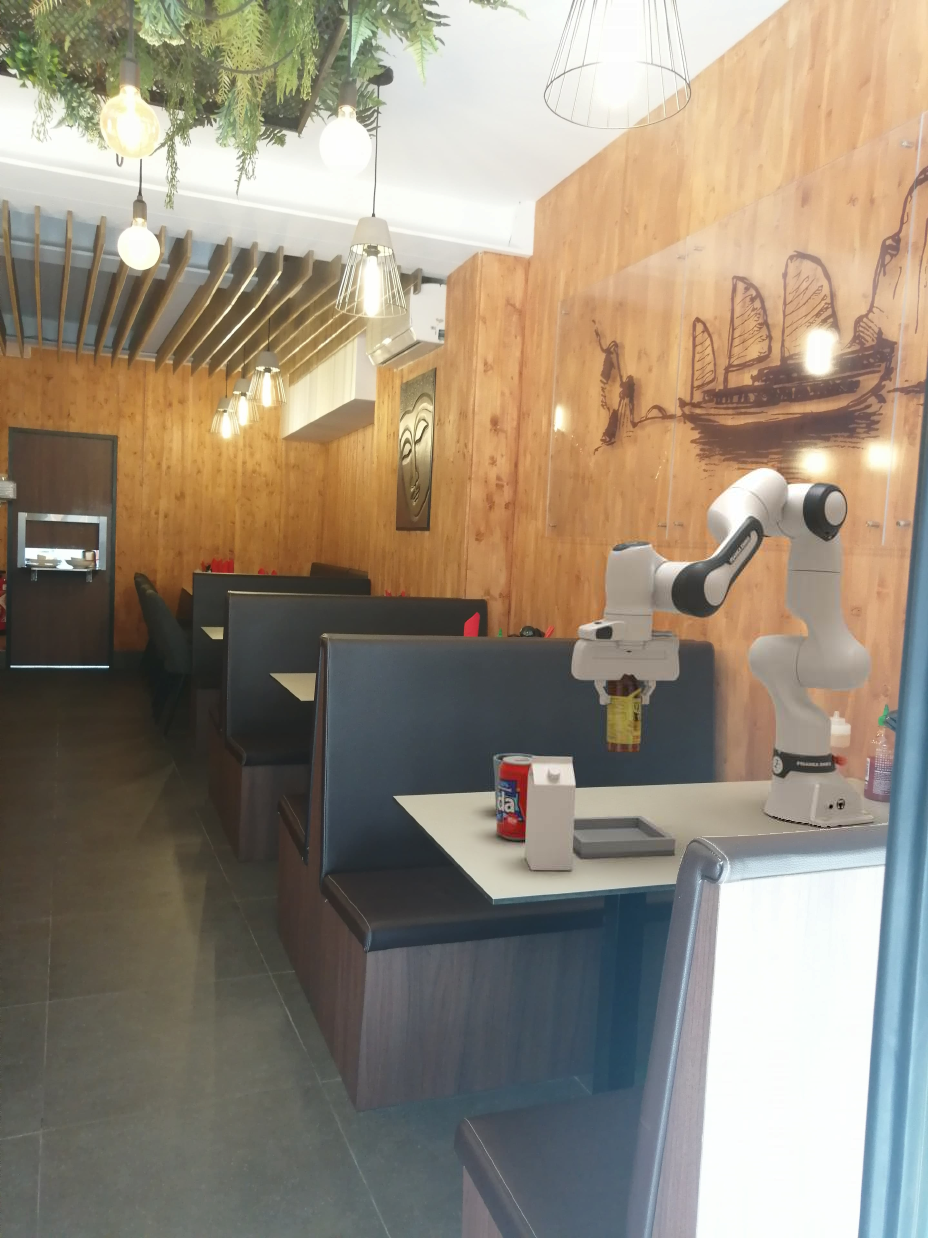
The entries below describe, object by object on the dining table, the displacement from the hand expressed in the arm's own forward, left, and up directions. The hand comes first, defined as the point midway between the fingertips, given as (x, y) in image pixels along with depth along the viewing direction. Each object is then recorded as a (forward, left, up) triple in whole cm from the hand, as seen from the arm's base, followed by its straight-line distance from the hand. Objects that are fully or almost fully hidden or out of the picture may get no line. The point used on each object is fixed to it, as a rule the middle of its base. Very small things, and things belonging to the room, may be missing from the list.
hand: (624, 704), depth 164 cm
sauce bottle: (0, 0, -9) cm, 9 cm away
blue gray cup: (+13, -24, -27) cm, 38 cm away
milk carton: (+16, +7, -27) cm, 32 cm away
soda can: (+17, -9, -27) cm, 33 cm away
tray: (0, -2, -27) cm, 27 cm away
